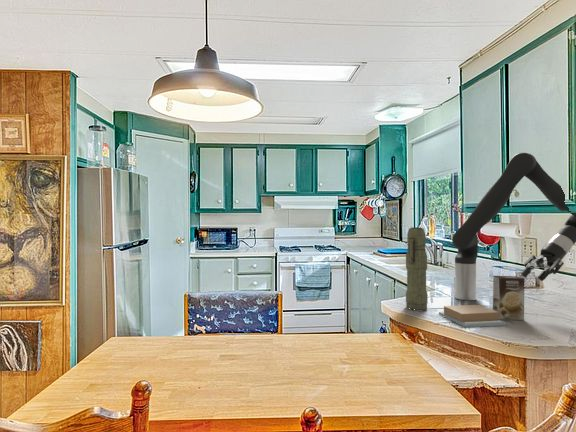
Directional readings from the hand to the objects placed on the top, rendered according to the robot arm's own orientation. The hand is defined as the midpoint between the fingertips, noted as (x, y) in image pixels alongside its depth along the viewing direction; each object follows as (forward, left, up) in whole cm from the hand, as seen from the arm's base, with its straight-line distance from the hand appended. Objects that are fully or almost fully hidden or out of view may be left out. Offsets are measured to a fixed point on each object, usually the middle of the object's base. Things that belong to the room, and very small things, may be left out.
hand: (531, 277), depth 148 cm
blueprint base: (0, -26, -15) cm, 30 cm away
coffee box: (0, -10, -16) cm, 19 cm away
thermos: (-20, -38, -16) cm, 46 cm away
